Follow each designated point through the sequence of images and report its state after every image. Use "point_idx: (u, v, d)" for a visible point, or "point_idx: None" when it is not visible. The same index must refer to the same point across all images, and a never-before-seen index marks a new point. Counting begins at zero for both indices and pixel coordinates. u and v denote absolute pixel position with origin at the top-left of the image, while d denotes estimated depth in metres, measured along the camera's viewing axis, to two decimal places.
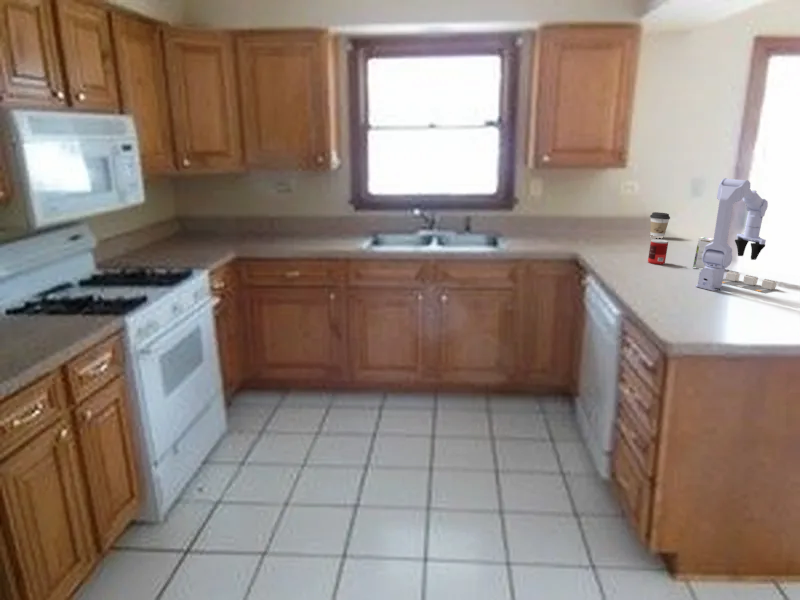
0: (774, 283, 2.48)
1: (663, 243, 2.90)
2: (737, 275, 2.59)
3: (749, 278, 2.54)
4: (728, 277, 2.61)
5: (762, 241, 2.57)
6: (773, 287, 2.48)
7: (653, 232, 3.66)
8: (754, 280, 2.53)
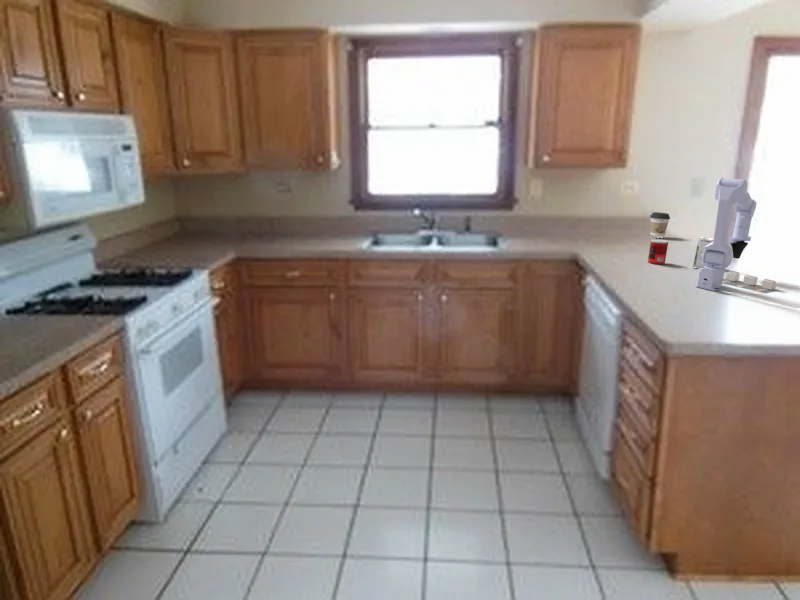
0: (774, 283, 2.48)
1: (663, 243, 2.90)
2: (737, 275, 2.59)
3: (749, 278, 2.54)
4: (728, 277, 2.61)
5: (729, 239, 2.61)
6: (773, 287, 2.48)
7: (653, 232, 3.66)
8: (754, 280, 2.53)
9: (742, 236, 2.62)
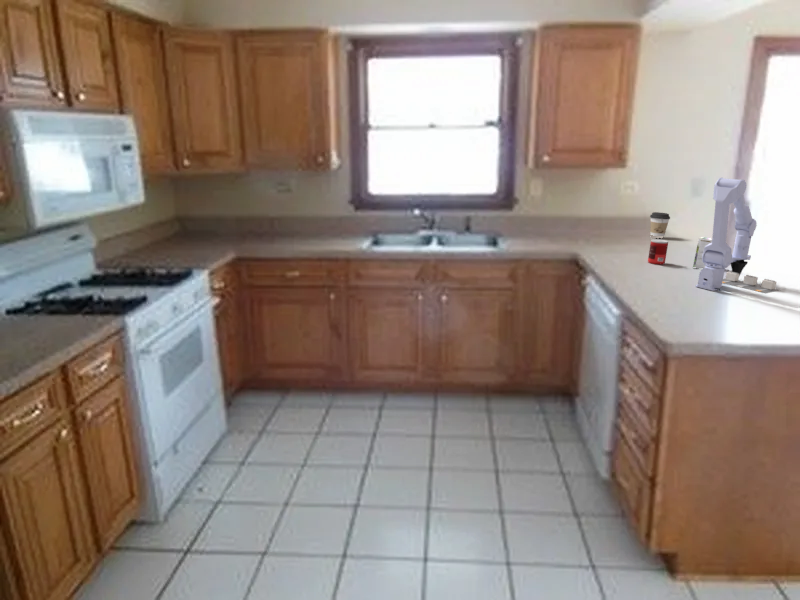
0: (774, 283, 2.48)
1: (663, 243, 2.90)
2: (737, 275, 2.59)
3: (749, 278, 2.54)
4: (728, 277, 2.61)
5: None
6: (773, 287, 2.48)
7: (653, 232, 3.66)
8: (754, 280, 2.53)
9: (741, 255, 2.58)
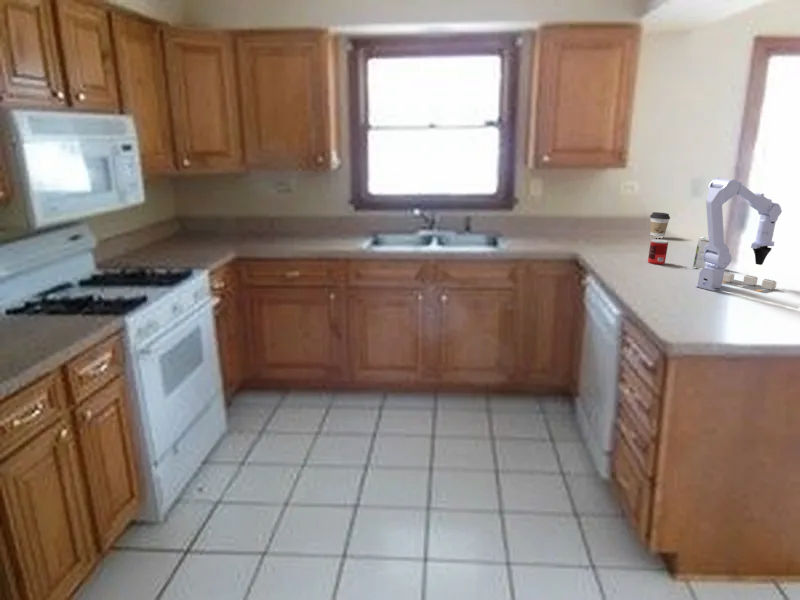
0: (774, 283, 2.48)
1: (663, 243, 2.90)
2: (731, 276, 2.57)
3: (749, 278, 2.54)
4: None
5: (752, 245, 2.49)
6: (773, 287, 2.48)
7: (653, 232, 3.66)
8: (754, 280, 2.53)
9: (765, 241, 2.49)
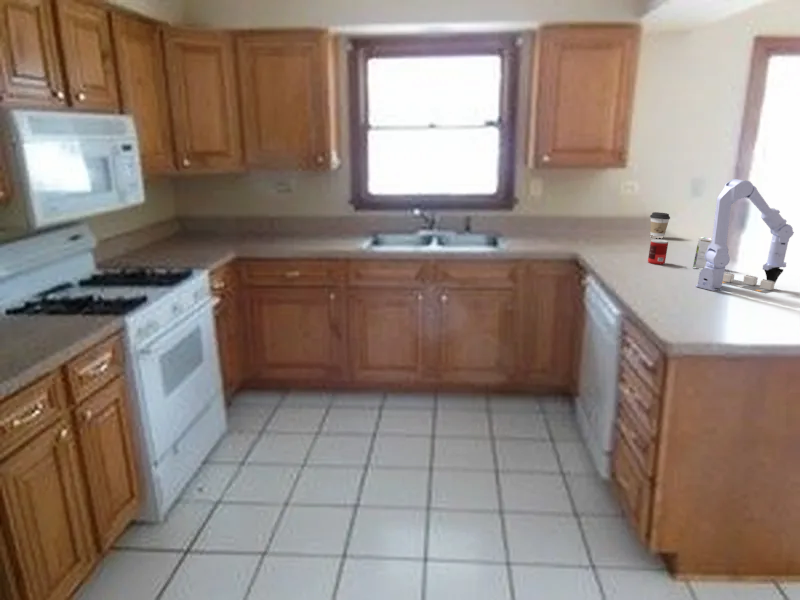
0: (772, 283, 2.47)
1: (663, 243, 2.90)
2: (731, 276, 2.57)
3: (749, 278, 2.54)
4: None
5: (764, 266, 2.45)
6: (771, 287, 2.47)
7: (653, 232, 3.66)
8: (754, 280, 2.53)
9: (777, 263, 2.45)
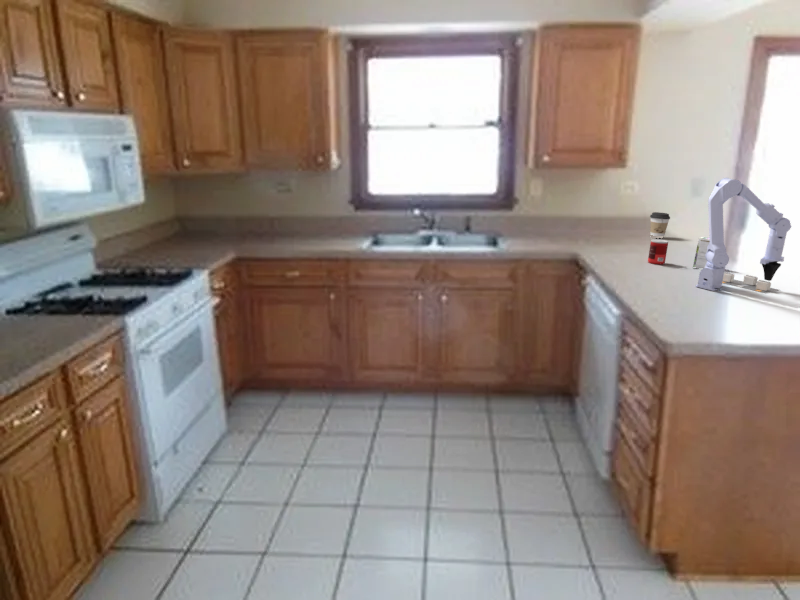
0: (769, 284, 2.45)
1: (663, 243, 2.90)
2: (731, 276, 2.57)
3: (749, 278, 2.54)
4: None
5: (761, 260, 2.42)
6: (768, 288, 2.46)
7: (653, 232, 3.66)
8: (754, 280, 2.53)
9: (775, 257, 2.43)
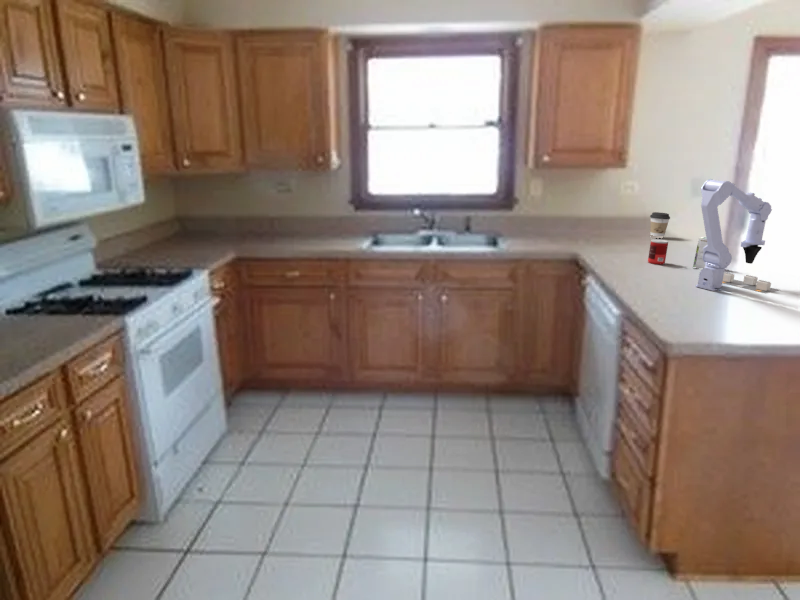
0: (769, 284, 2.45)
1: (663, 243, 2.90)
2: (731, 276, 2.57)
3: (749, 278, 2.54)
4: None
5: (742, 243, 2.50)
6: (768, 288, 2.46)
7: (653, 232, 3.66)
8: (754, 280, 2.53)
9: (755, 240, 2.50)
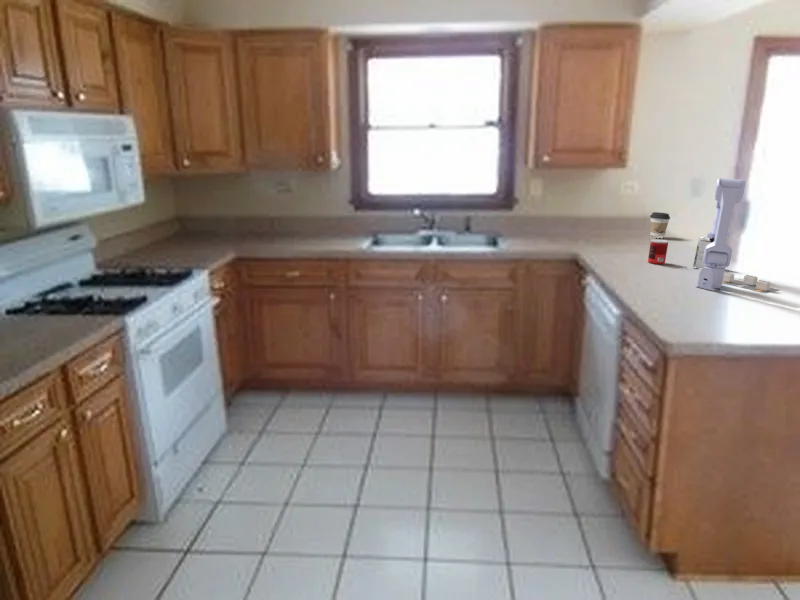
0: (769, 284, 2.45)
1: (663, 243, 2.90)
2: (731, 276, 2.57)
3: (749, 278, 2.54)
4: None
5: (708, 235, 2.64)
6: (768, 288, 2.46)
7: (653, 232, 3.66)
8: (754, 280, 2.53)
9: None
